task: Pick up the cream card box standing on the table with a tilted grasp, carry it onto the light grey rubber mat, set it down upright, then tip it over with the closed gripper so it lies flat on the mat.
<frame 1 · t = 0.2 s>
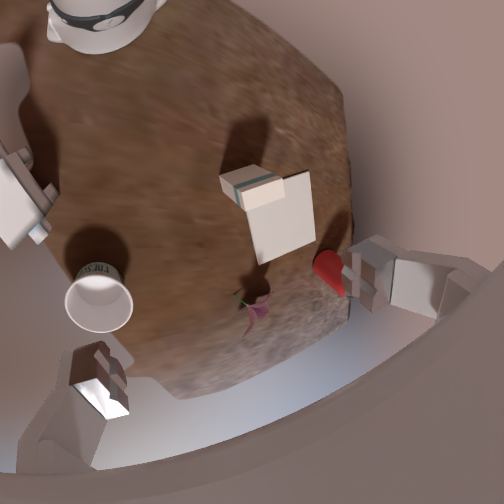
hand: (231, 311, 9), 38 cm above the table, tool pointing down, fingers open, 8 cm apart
lily: (247, 298, 63), on the table
mat: (282, 218, 56), on the table
food container: (99, 283, 46), on the table
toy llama: (23, 179, 32), on the table
card box: (238, 177, 48), on the table
beer can: (322, 260, 67), on the table
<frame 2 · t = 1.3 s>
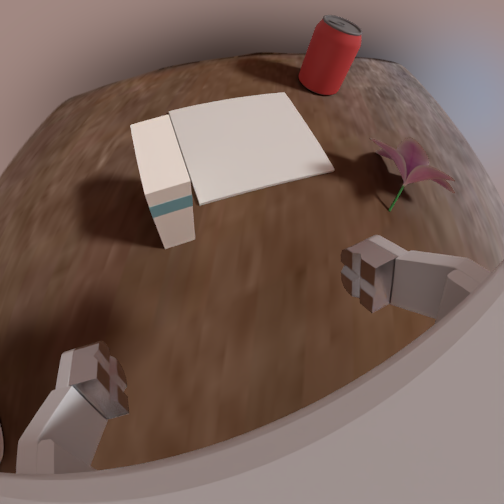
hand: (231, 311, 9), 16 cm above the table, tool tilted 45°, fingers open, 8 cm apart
lily: (393, 187, 33), on the table
mat: (249, 137, 31), on the table
card box: (170, 214, 27), on the table
beer can: (317, 85, 38), on the table
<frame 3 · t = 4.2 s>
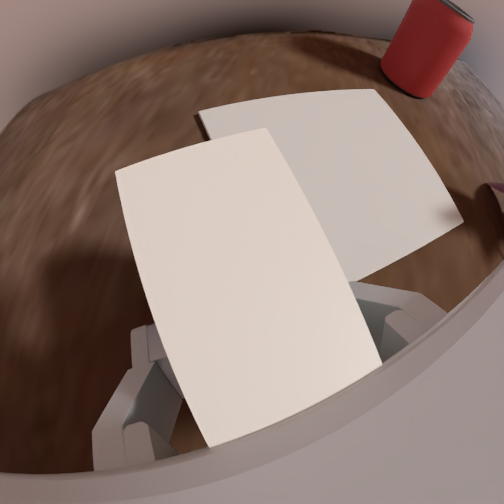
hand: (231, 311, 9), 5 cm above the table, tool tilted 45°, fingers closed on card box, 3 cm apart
mat: (347, 165, 18), on the table
card box: (231, 336, 14), on the table, touching gripper
beer can: (403, 81, 24), on the table
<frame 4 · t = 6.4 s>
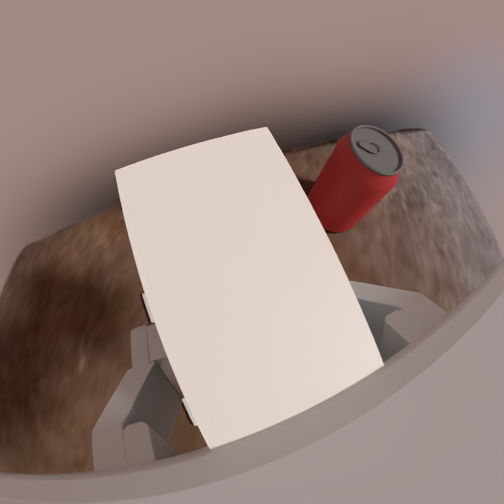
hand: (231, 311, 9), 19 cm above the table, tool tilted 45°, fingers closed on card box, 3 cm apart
card box: (231, 336, 13), point 14 cm above the table, touching gripper
beer can: (330, 209, 33), on the table
when the fingers open (7 cm above the table, at t = 8.9 s): card box stays where it is, resting on mat.
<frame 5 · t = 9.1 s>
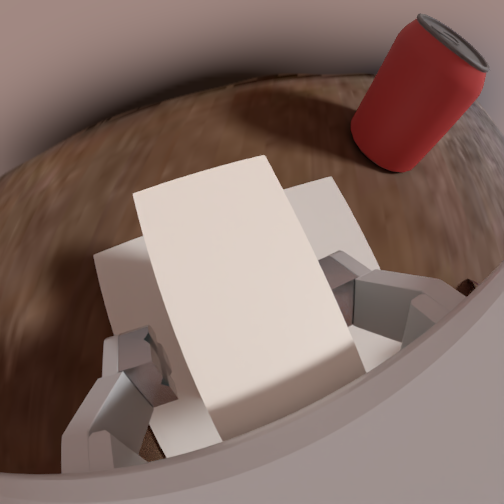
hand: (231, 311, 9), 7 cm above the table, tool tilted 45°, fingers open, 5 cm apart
mat: (264, 323, 15), on the table
card box: (229, 337, 14), resting on mat
beer can: (381, 145, 21), on the table
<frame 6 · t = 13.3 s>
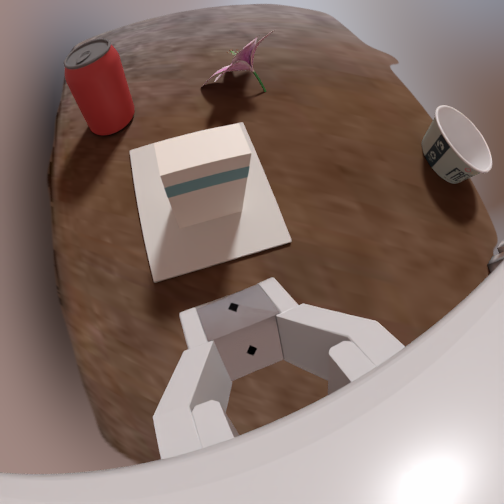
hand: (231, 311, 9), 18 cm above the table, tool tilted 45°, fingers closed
lily: (238, 83, 35), on the table
mat: (202, 191, 29), on the table
food container: (442, 159, 36), on the table
card box: (207, 206, 29), resting on mat
beer can: (113, 120, 32), on the table
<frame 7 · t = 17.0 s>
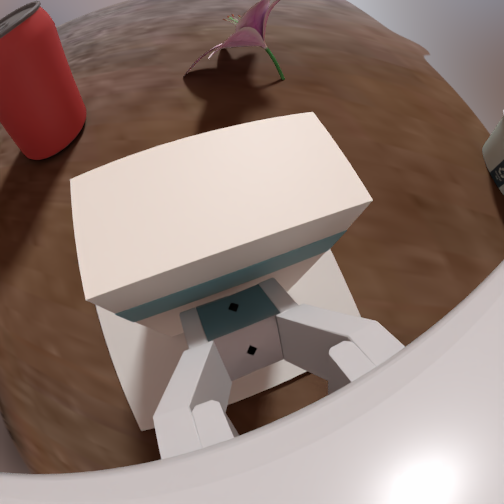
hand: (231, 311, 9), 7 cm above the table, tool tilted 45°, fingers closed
lily: (240, 68, 23), on the table
mat: (206, 258, 16), on the table
food container: (503, 174, 24), on the table
card box: (219, 290, 15), resting on mat, touching gripper
beer can: (56, 133, 18), on the table
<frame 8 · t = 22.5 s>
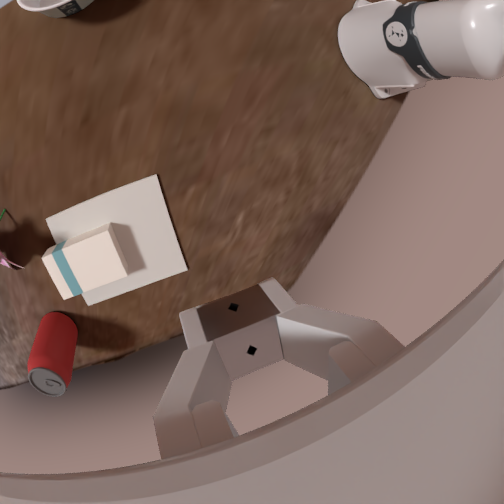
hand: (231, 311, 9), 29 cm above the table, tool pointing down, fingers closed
lily: (0, 236, 27), on the table
mat: (116, 244, 35), on the table
card box: (118, 249, 33), point 2 cm above the table, tilted 90°, touching mat
beer can: (59, 326, 36), on the table
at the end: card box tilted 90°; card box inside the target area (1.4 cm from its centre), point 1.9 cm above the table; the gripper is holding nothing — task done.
